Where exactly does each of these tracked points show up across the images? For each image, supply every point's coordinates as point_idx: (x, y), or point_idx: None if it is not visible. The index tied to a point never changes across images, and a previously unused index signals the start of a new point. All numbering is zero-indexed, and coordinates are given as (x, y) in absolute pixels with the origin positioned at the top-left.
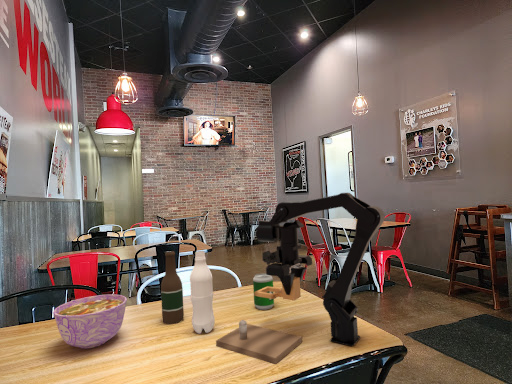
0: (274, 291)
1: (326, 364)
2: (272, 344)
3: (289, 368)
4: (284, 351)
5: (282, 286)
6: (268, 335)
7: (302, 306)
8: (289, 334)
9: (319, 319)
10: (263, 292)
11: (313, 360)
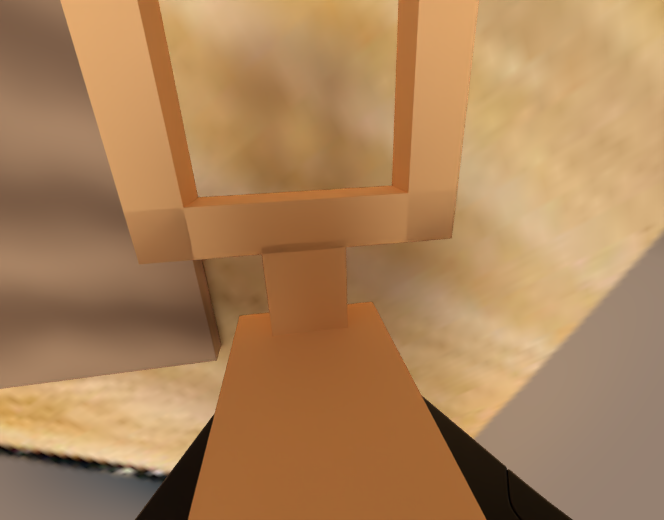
0: (400, 73)
1: (142, 470)
2: (43, 313)
3: (18, 419)
4: (52, 379)
5: (214, 426)
6: (102, 233)
7: (626, 103)
8: (194, 310)
9: (469, 280)
10: (128, 23)
11: (131, 438)
